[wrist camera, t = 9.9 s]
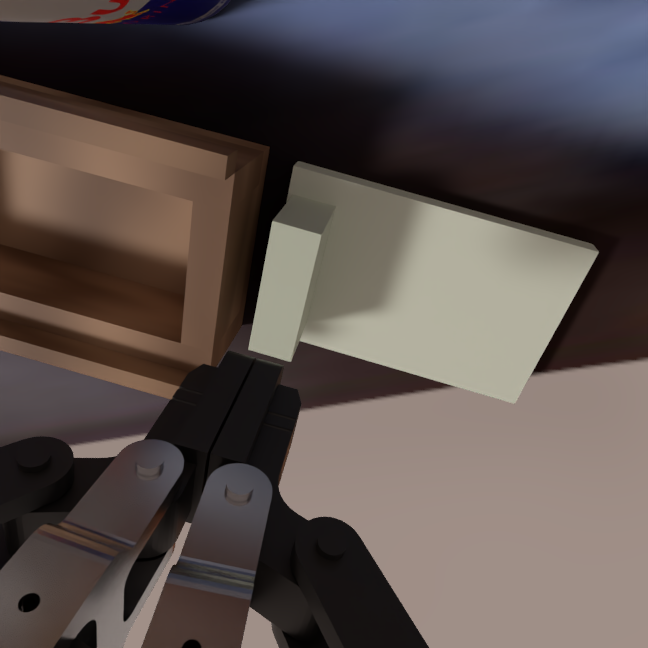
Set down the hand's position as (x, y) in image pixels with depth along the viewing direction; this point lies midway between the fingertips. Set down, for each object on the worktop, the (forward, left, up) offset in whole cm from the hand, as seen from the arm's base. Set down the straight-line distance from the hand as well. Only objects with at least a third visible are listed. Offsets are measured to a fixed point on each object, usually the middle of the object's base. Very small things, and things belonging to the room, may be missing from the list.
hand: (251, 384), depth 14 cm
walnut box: (-9, 0, -8) cm, 12 cm away
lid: (+4, 0, -9) cm, 10 cm away
